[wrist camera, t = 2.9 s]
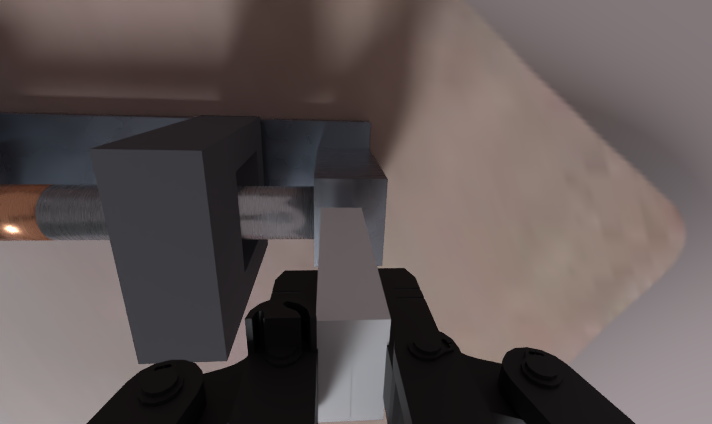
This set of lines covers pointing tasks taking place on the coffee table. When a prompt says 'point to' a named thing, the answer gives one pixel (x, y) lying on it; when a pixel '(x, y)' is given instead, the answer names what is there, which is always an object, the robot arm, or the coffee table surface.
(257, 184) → the dark gray notched block
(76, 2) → the coffee table surface
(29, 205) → the rail
